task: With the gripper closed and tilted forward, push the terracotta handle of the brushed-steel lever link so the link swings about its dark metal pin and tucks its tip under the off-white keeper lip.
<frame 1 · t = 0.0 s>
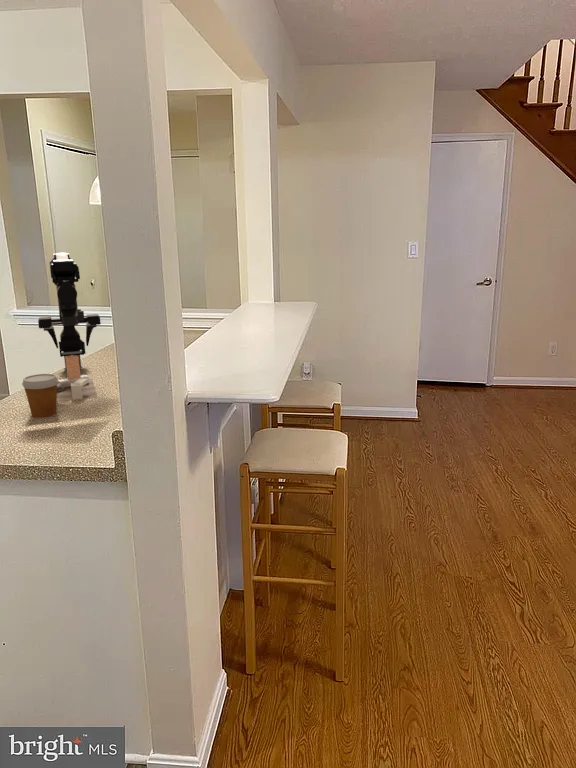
hand: (72, 347, 190), 15 cm above the worktop, tool pointing down, fingers open, 9 cm apart
walnut board: (71, 393, 190), on the worktop
lever link: (66, 371, 192), point 6 cm above the worktop, hinge at 30.0°
keeper: (77, 398, 181), resting on walnut board
disposable coffee cup: (44, 418, 166), on the worktop
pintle: (54, 390, 189), resting on walnut board
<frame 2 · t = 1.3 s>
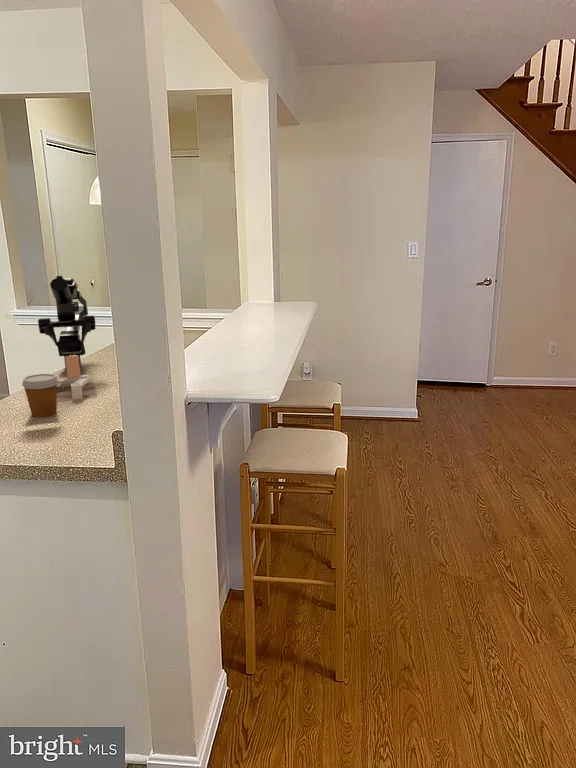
hand: (69, 344, 200), 13 cm above the worktop, tool tilted 45°, fingers open, 8 cm apart
nothing on the worktop moved.
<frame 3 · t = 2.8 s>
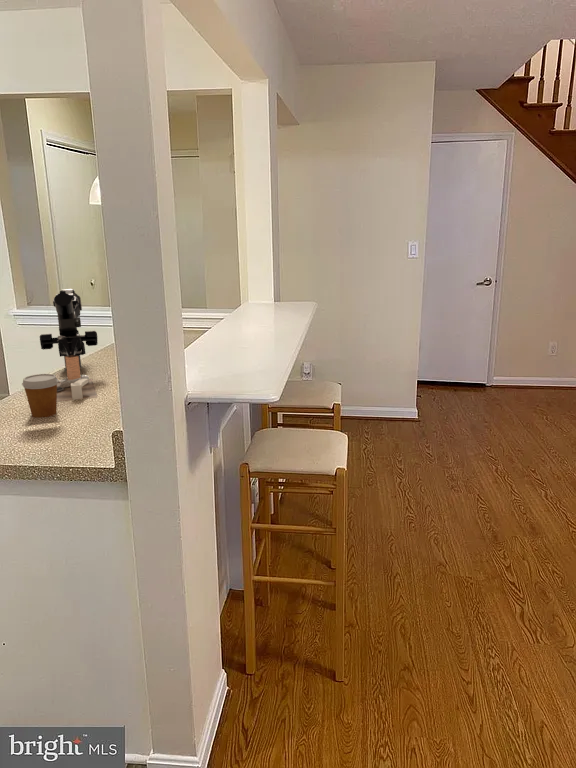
hand: (71, 360, 198), 9 cm above the worktop, tool tilted 45°, fingers closed
nothing on the worktop moved.
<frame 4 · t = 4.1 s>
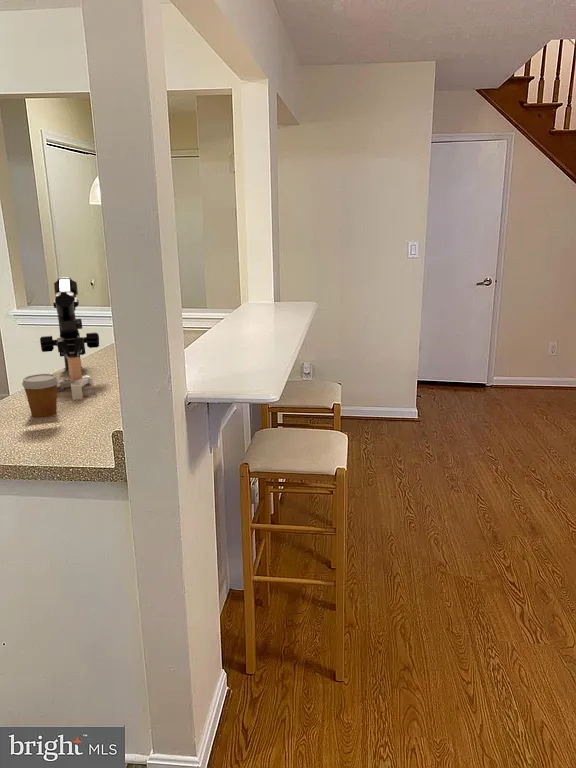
hand: (73, 362, 194), 9 cm above the worktop, tool tilted 45°, fingers closed
lever link: (67, 372, 191), point 6 cm above the worktop, hinge at 21.0°, touching gripper
everything else where it was.
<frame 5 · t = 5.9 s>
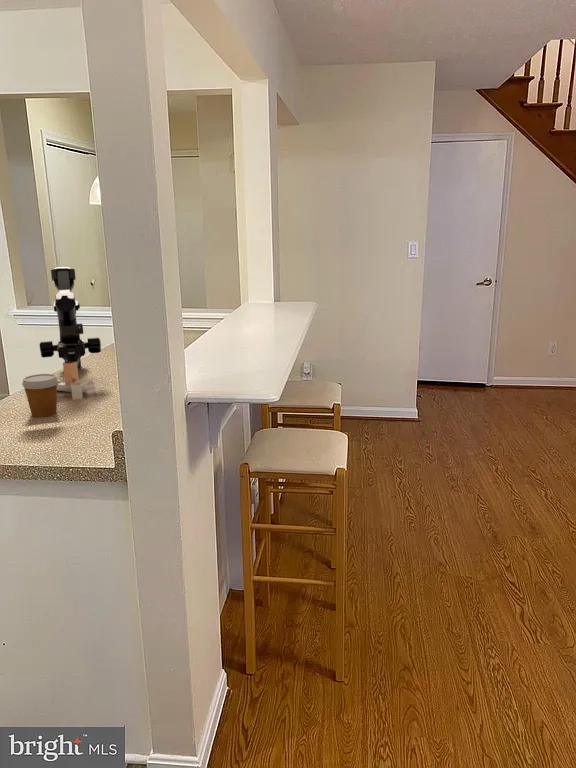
hand: (73, 369, 187), 8 cm above the worktop, tool tilted 45°, fingers closed
lever link: (64, 375, 186), point 6 cm above the worktop, hinge at -42.0°, touching gripper
everything else where it was.
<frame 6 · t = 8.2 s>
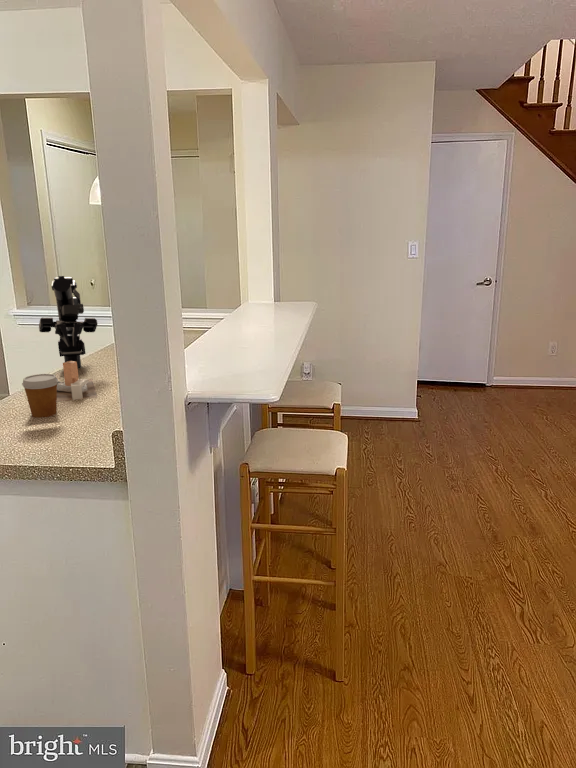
hand: (71, 345, 199), 13 cm above the worktop, tool tilted 40°, fingers closed
lever link: (64, 375, 186), point 6 cm above the worktop, hinge at -42.0°
everything else where it was.
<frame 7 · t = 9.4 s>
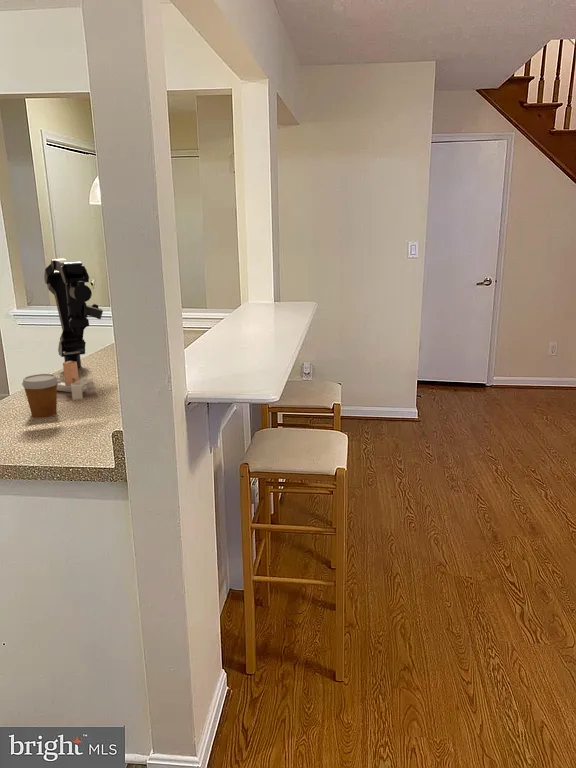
hand: (80, 343, 204), 13 cm above the worktop, tool pointing down, fingers closed
nothing on the worktop moved.
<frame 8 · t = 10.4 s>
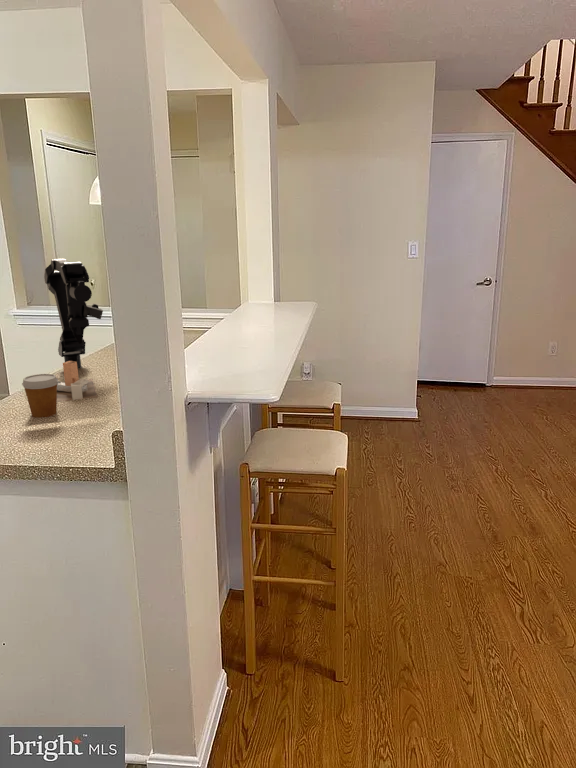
hand: (80, 343, 204), 13 cm above the worktop, tool pointing down, fingers closed
nothing on the worktop moved.
at the end: lever link at -42° (first picture: +30°); disposable coffee cup moved 0.2 cm from its start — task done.
